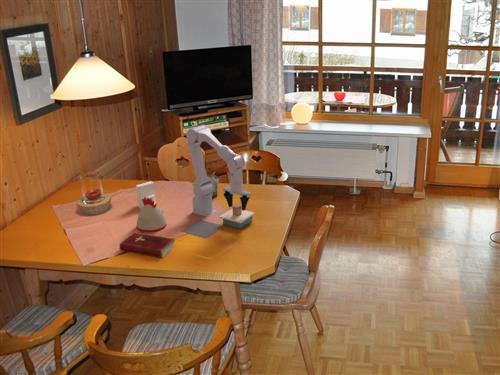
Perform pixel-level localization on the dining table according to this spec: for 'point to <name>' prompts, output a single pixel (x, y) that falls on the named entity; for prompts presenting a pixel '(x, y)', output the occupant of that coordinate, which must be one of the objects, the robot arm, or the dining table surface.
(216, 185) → the food container
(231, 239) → the dining table surface
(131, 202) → the dining table surface
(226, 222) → the teal square tray
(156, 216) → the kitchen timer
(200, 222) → the mat
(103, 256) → the dining table surface
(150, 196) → the base with upright slab
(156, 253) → the hardcover book
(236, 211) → the lid
